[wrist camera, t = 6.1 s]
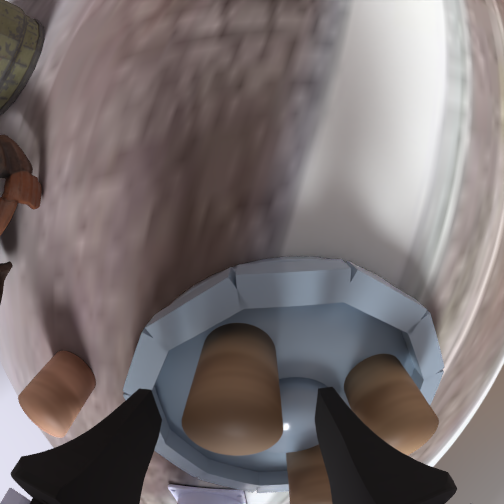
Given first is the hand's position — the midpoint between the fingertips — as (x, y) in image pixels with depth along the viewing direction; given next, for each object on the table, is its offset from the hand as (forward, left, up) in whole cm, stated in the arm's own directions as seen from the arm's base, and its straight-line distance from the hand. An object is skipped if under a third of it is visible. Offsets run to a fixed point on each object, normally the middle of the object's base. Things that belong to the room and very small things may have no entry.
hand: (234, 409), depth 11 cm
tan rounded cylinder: (-10, -5, -4) cm, 12 cm away
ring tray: (-5, -3, -5) cm, 8 cm away
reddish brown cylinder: (-3, +13, -5) cm, 15 cm away
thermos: (+21, +17, -5) cm, 28 cm away
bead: (-3, -8, -4) cm, 10 cm away
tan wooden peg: (0, 0, -4) cm, 4 cm away
